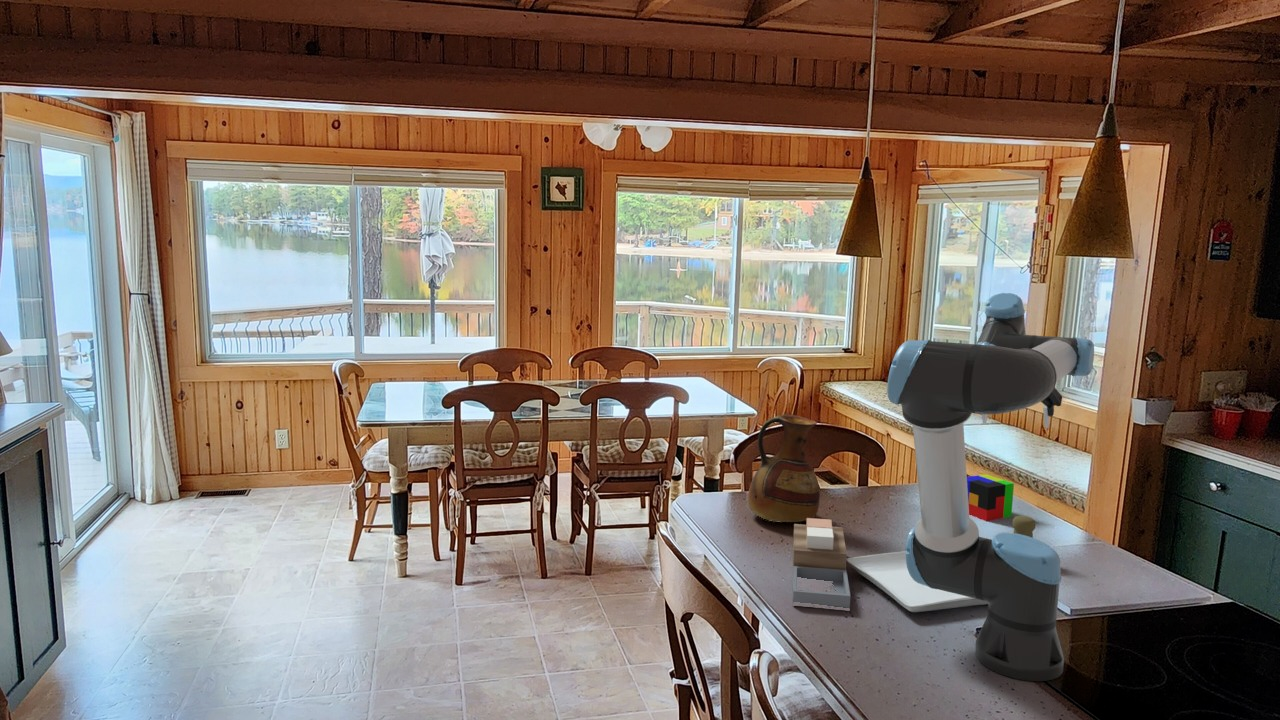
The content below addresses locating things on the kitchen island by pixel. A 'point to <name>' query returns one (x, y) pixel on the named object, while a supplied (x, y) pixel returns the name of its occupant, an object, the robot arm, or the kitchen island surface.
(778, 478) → the ceramic pitcher
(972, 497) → the puzzle toy
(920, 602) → the square plate
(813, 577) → the bin
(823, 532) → the cream tile
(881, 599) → the kitchen island surface
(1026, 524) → the cork
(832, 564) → the brushed bronze panel
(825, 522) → the terracotta tile
